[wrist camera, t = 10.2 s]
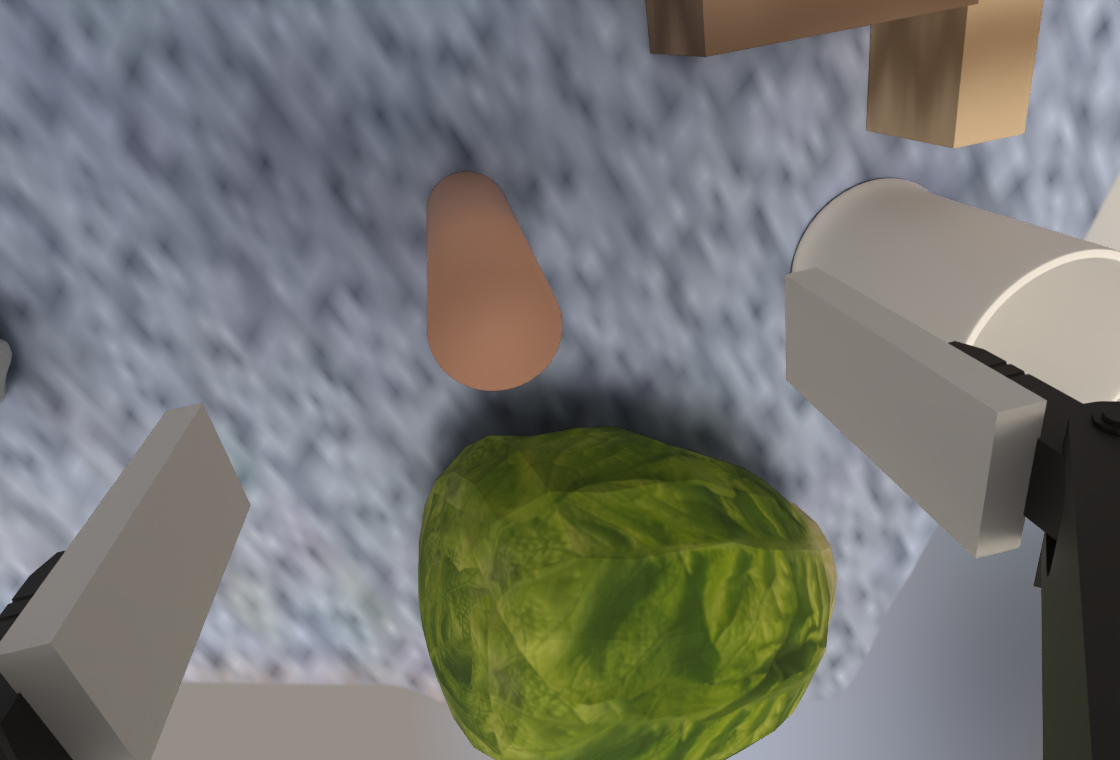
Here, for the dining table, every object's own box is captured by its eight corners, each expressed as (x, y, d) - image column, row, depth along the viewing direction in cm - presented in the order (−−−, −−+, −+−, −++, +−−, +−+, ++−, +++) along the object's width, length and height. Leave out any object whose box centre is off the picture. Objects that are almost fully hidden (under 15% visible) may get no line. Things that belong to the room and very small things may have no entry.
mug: (1023, 182, 35) (1285, 246, 24) (969, 338, 38) (1175, 452, 28) (810, 174, 33) (995, 239, 22) (774, 340, 36) (917, 463, 26)
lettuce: (678, 599, 47) (868, 768, 35) (376, 680, 37) (495, 963, 24) (722, 376, 43) (958, 479, 30) (391, 395, 32) (546, 565, 20)
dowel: (417, 180, 30) (411, 281, 17) (499, 164, 30) (550, 251, 18) (437, 259, 31) (445, 403, 19) (515, 243, 32) (571, 374, 19)
